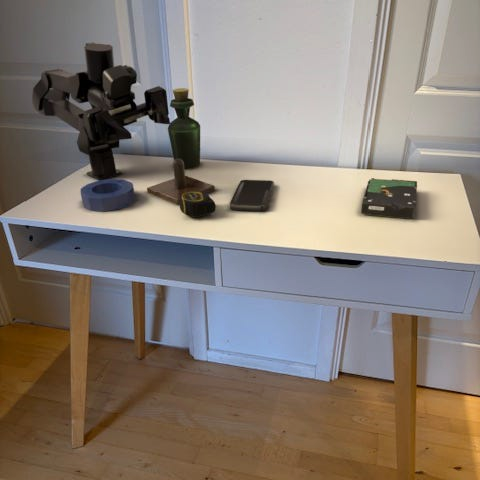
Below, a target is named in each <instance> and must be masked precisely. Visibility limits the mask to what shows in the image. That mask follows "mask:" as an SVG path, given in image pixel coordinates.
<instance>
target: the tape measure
mask: <svg viewBox="0 0 480 480" xmlns="http://www.w3.org/2000/svg"><path fill="white" fill-rule="evenodd" d="M178 206H179V210H180V211H181V213H182V214H183V215H185V216H187V217H193V218H194V217H195V218H199V217H203V216H206V215H209V214H213V213H214V212H216V210H217V205H216V202H215V201H214V199H213V198H211V197H210V195H209V193H207V192H206V191H200V192H188V193H185V194H183V195H182V196H181V197H180V200H179V205H178Z"/></svg>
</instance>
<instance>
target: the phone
mask: <svg viewBox="0 0 480 480" xmlns="http://www.w3.org/2000/svg"><path fill="white" fill-rule="evenodd" d="M274 188H275V181H274V180H268V179H267V180H265V179H242V180H240V181H239V183H238V186H237V188H236V189H235V192H234V193H233V195H232V198H231V200H230V202H229V209H230V210H232V211H247V212H265V211H267V210H268V207H269V203H270V201H271V197H272V194H273V192H274Z"/></svg>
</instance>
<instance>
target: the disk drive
mask: <svg viewBox="0 0 480 480" xmlns="http://www.w3.org/2000/svg"><path fill="white" fill-rule="evenodd" d="M417 191H418V181H416V180H408V179H407V180H405V179H394V178H393V179H383V178H374V177H371V178H370V179H368V181H367V185H366V188H365V191H364V195H363V198H362V201H361V208H360V214H361V215H362V214H363V215H369V216H379V217H387V218H399V219H414V218H415V212H416V207H417V202H416V201H417Z"/></svg>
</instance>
